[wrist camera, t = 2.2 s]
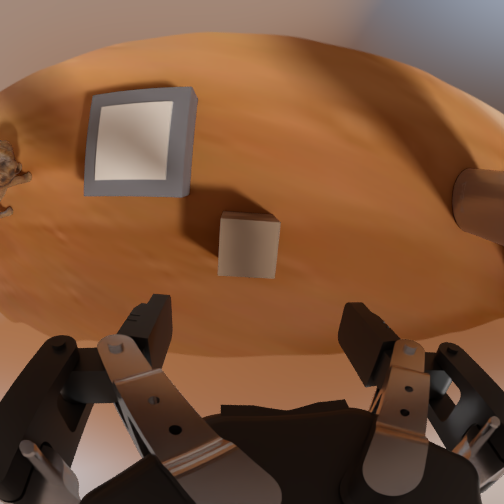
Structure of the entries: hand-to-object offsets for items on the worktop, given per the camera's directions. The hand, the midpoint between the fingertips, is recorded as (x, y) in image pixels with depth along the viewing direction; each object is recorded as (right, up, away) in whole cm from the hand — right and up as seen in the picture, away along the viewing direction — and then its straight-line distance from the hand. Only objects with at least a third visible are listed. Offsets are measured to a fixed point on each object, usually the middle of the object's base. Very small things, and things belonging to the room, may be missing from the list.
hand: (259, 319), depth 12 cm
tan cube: (-1, +4, +16) cm, 17 cm away
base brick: (-11, +14, +13) cm, 22 cm away
